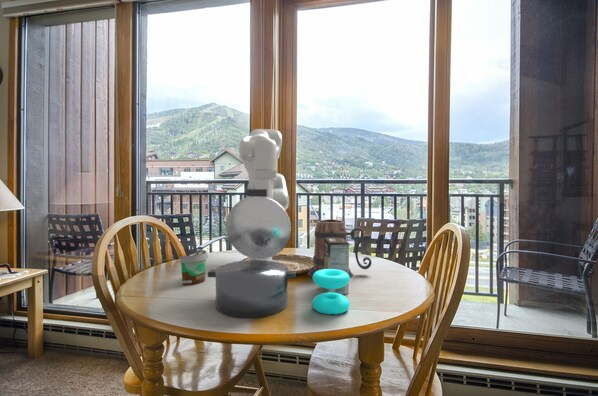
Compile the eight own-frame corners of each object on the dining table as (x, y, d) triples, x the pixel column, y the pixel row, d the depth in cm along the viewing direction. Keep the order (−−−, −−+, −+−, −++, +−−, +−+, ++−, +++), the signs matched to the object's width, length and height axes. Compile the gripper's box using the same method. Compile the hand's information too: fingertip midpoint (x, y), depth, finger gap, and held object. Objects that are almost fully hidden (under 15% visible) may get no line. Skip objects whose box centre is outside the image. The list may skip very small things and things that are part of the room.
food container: (197, 287, 107) (197, 257, 106) (180, 286, 108) (179, 256, 108) (214, 277, 119) (214, 249, 119) (198, 276, 120) (198, 249, 120)
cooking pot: (220, 290, 104) (220, 259, 103) (298, 292, 102) (298, 260, 102) (196, 316, 84) (196, 278, 83) (292, 319, 82) (292, 280, 82)
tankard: (305, 279, 116) (306, 223, 115) (309, 267, 133) (309, 218, 132) (373, 282, 113) (374, 224, 112) (368, 269, 130) (369, 218, 129)
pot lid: (227, 258, 104) (230, 255, 106) (291, 259, 102) (291, 256, 105) (223, 189, 99) (226, 188, 101) (289, 190, 97) (290, 188, 100)
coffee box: (323, 285, 110) (323, 237, 109) (342, 285, 110) (343, 237, 109) (328, 294, 100) (328, 242, 100) (349, 294, 101) (349, 242, 100)
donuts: (310, 268, 94) (345, 267, 94) (310, 302, 94) (345, 301, 95) (315, 278, 84) (353, 277, 84) (314, 316, 84) (353, 315, 85)
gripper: (258, 176, 121) (258, 226, 122) (249, 175, 106) (250, 232, 107) (278, 176, 120) (279, 226, 121) (272, 175, 105) (273, 232, 106)
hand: (265, 228), depth 114 cm, fingers closed
